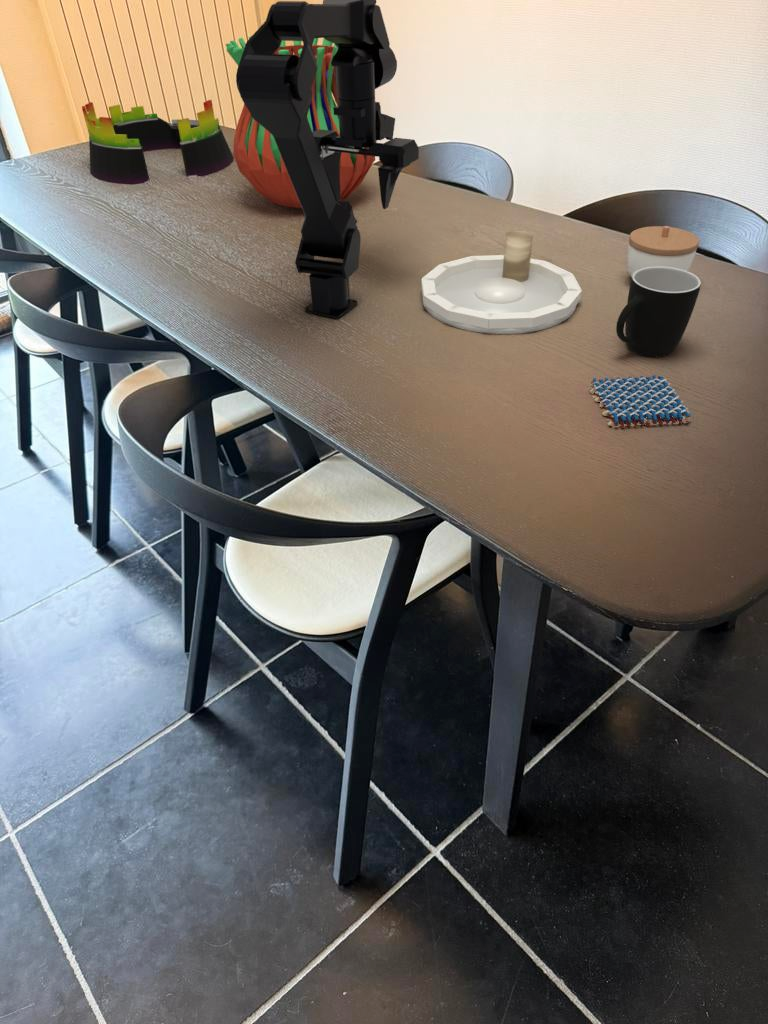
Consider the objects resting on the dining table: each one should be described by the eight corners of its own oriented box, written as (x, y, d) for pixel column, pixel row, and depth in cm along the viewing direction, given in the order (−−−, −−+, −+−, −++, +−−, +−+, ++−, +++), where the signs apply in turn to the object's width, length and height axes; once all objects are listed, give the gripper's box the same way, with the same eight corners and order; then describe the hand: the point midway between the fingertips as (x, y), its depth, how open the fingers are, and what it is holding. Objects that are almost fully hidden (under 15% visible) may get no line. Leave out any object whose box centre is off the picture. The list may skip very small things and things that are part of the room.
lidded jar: (642, 300, 114) (655, 242, 108) (608, 276, 122) (619, 220, 116) (700, 291, 116) (716, 234, 110) (664, 268, 124) (677, 212, 118)
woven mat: (661, 384, 95) (664, 371, 94) (692, 428, 87) (696, 414, 86) (584, 389, 95) (587, 375, 94) (608, 433, 87) (611, 419, 86)
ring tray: (546, 347, 103) (548, 331, 101) (395, 314, 113) (395, 299, 111) (596, 284, 119) (598, 269, 118) (460, 260, 129) (461, 246, 127)
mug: (649, 327, 107) (664, 261, 100) (696, 351, 101) (716, 282, 94) (589, 348, 103) (601, 280, 96) (635, 374, 97) (651, 303, 90)
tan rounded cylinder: (522, 284, 118) (527, 241, 113) (498, 279, 120) (501, 237, 115) (532, 274, 121) (536, 233, 116) (507, 270, 122) (511, 229, 118)
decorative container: (263, 156, 189) (254, 91, 179) (161, 194, 165) (146, 122, 156) (164, 141, 204) (152, 81, 194) (59, 173, 181) (39, 107, 171)
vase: (400, 188, 163) (398, 31, 143) (332, 229, 143) (320, 54, 123) (290, 174, 174) (275, 27, 155) (214, 211, 154) (185, 47, 135)
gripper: (435, 91, 109) (433, 197, 119) (332, 83, 116) (339, 184, 126) (401, 106, 101) (402, 218, 112) (293, 96, 109) (304, 202, 119)
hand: (361, 204), depth 117 cm, fingers open, 9 cm apart
